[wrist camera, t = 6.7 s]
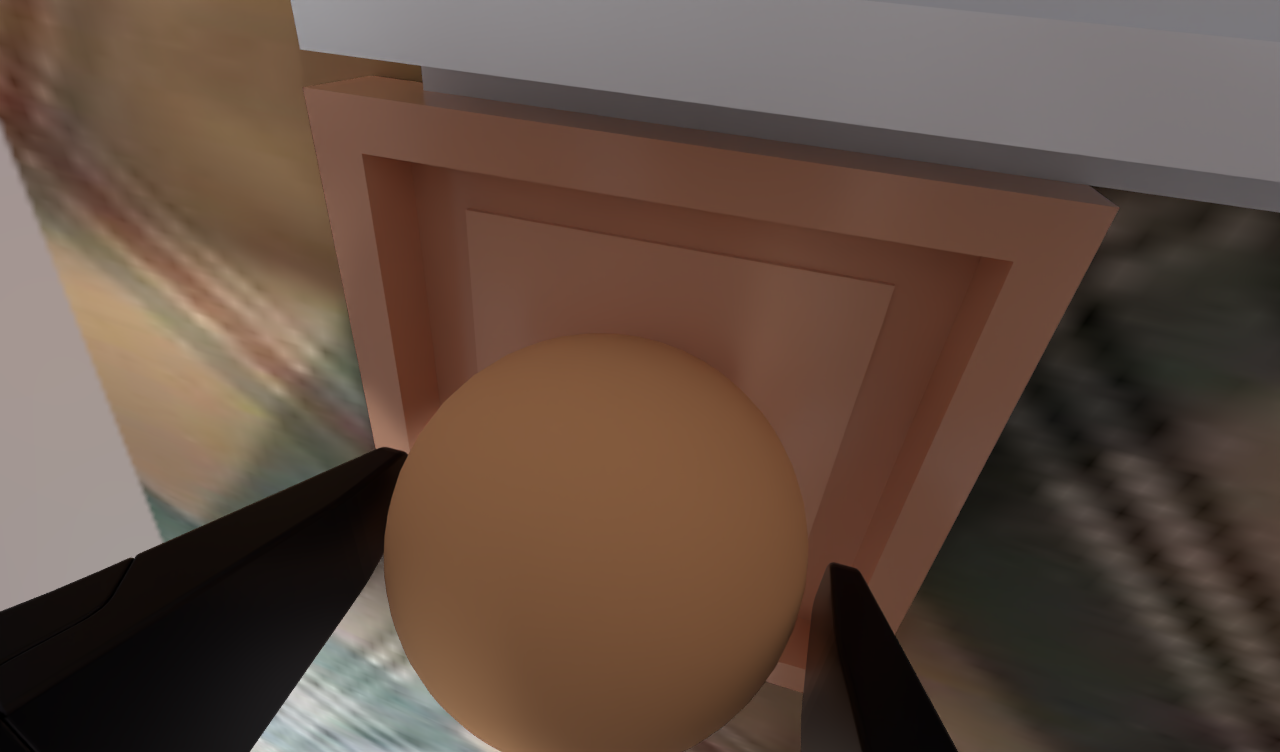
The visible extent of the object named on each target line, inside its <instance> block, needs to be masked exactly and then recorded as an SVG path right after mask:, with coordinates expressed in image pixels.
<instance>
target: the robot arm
mask: <svg viewBox="0 0 1280 752" xmlns="http://www.w3.org/2000/svg"><path fill="white" fill-rule="evenodd" d="M407 456H408V454H407V453H406V452H404V451H401V450H397V449H393V448H389V447H381V448H378V449H375V450H373V451H371V452H369V453H366V454H364V455H362V456H360V457H357V458H355V459H353V460H351V461H348V462H346V463H344V464H341V465H339V466H337V467H335V468H332V469H330V470H328V471H326V472H323V473H321V474H319V475H317V476H314V477H312V478H310V479H307V480H305V481H303V482H301V483H298V484H296V485H294V486H292V487H289V488H287V489H285V490H283V491H280V492H278V493H276V494H273V495H271V496H269V497H267V498H264V499H262V500H260V501H258V502H255V503H253V504H251V505H249V506H246V507H244V508H242V509H239V510H237V511H235V512H233V513H230V514H228V515H226V516H224V517H221V518H219V519H217V520H215V521H212V522H210V523H208V524H205V525H203V526H201V527H199V528H196V529H194V530H192V531H190V532H187V533H185V534H183V535H180V536H178V537H176V538H174V539H171V540H169V541H167V542H165V543H162V544H160V545H158V546H156V547H153V548H151V549H149V550H146V551H144V552H142V553H140V554H138V555H137V556H136V557H135V558H128V559H126V560H124V561H121V562H119V563H117V564H115V565H112V566H110V567H108V568H105V569H103V570H101V571H99V572H96V573H94V574H91V575H89V576H87V577H85V578H82V579H80V580H77V581H75V582H73V583H70V584H68V585H66V586H63V587H61V588H58V589H56V590H54V591H51V592H49V593H46V594H44V595H41V596H39V597H36V598H34V599H31V600H29V601H26V602H24V603H21V604H18V605H16V606H14V607H11V608H8V609H6V610H3V611H0V752H250V751H251V749H252V748H253V746H254V745H255V744H256V742H257V741H258V739H259V738H260V736H261V735H262V734H263V732H264V731H265V729H266V728H267V726H268V725H269V724H270V722H271V721H272V719H273V718H274V716H275V715H276V713H277V712H278V711H279V709H280V708H281V706H282V705H283V703H284V702H285V701H286V699H287V698H288V696H289V695H290V693H291V692H292V690H293V689H294V688H295V686H296V685H297V683H298V682H299V680H300V679H301V678H302V676H303V675H304V673H305V672H306V670H307V669H308V668H309V666H310V665H311V663H312V662H313V660H314V659H315V657H316V656H317V655H318V653H319V652H320V650H321V649H322V647H323V646H324V645H325V643H326V642H327V640H328V639H329V637H330V636H331V635H332V633H333V632H334V630H335V629H336V627H337V626H338V624H339V623H340V622H341V620H342V619H343V617H344V616H345V614H346V613H347V612H348V610H349V609H350V607H351V606H352V604H353V603H354V602H355V600H356V599H357V597H358V596H359V594H360V593H361V591H362V590H363V588H364V587H365V585H366V584H367V582H368V580H369V579H370V577H371V575H372V573H373V572H374V570H375V568H376V566H377V565H378V563H379V561H380V559H381V557H382V556H383V554H384V539H385V530H386V523H387V516H388V510H389V506H390V503H391V499H392V495H393V492H394V489H395V486H396V482H397V479H398V476H399V473H400V471H401V469H402V467H403V465H404V463H405V461H406V459H407ZM801 752H958V751H957V749H956V747H955V745H954V743H953V741H952V739H951V738H950V736H949V734H948V732H947V730H946V728H945V727H944V725H943V723H942V721H941V719H940V717H939V715H938V714H937V712H936V710H935V708H934V706H933V704H932V703H931V701H930V699H929V697H928V695H927V693H926V692H925V690H924V688H923V686H922V684H921V682H920V680H919V679H918V677H917V675H916V673H915V671H914V669H913V668H912V666H911V664H910V662H909V660H908V658H907V656H906V655H905V653H904V651H903V649H902V647H901V645H900V644H899V642H898V640H897V638H896V636H895V634H894V632H893V631H892V629H891V627H890V625H889V623H888V621H887V620H886V618H885V616H884V614H883V612H882V610H881V608H880V607H879V605H878V603H877V601H876V599H875V597H874V596H873V594H872V592H871V590H870V588H869V586H868V585H867V583H866V581H865V579H864V577H863V575H862V574H861V572H860V571H859V570H858V569H857V568H854V567H851V566H847V565H843V564H839V563H835V562H831V563H829V564H828V565H827V567H826V569H825V572H824V575H823V577H822V580H821V582H820V585H819V588H818V590H817V593H816V596H815V599H814V603H813V607H812V614H811V624H810V633H809V643H808V652H807V662H806V671H805V681H804V690H803V700H802V713H801Z"/></svg>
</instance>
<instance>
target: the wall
mask: <svg viewBox="0 0 1280 752" xmlns="http://www.w3.org/2000/svg"><path fill="white" fill-rule="evenodd" d="M291 5H292V11H293V16H294V21H295V26H296V31H297V36H298V41H299V46H300V49H301V50H308V51H316V52H323V53H330V54H338V55H345V56H353V57H360V58H367V59H375V60H382V61H389V62H397V63H404V64H412V65H419V66H421V71H422V80H423V90H425V91H432V92H439V93H446V94H453V95H460V96H467V97H474V98H481V99H488V100H495V101H502V102H509V103H516V104H523V105H530V106H537V107H544V108H551V109H558V110H565V111H572V112H579V113H586V114H593V115H600V116H607V117H614V118H621V119H628V120H635V121H642V122H649V123H656V124H663V125H670V126H677V127H684V128H691V129H698V130H705V131H712V132H719V133H726V134H733V135H740V136H747V137H754V138H761V139H768V140H775V141H782V142H789V143H796V144H803V145H810V146H817V147H824V148H831V149H838V150H845V151H852V152H859V153H866V154H873V155H880V156H887V157H894V158H901V159H908V160H915V161H922V162H929V163H936V164H943V165H950V166H957V167H964V168H971V169H978V170H985V171H992V172H999V173H1006V174H1013V175H1020V176H1027V177H1034V178H1041V179H1048V180H1055V181H1062V182H1069V183H1076V184H1083V185H1090V186H1097V187H1104V188H1111V189H1118V190H1125V191H1132V192H1139V193H1146V194H1153V195H1160V196H1167V197H1174V198H1181V199H1188V200H1195V201H1202V202H1209V203H1216V204H1223V205H1230V206H1237V207H1244V208H1251V209H1258V210H1265V211H1272V212H1279V213H1280V0H291Z"/></svg>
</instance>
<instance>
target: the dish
mask: <svg viewBox="0 0 1280 752" xmlns="http://www.w3.org/2000/svg"><path fill="white" fill-rule="evenodd" d="M303 92H304V96H305V101H306V106H307V111H308V116H309V121H310V126H311V131H312V136H313V141H314V146H315V151H316V156H317V161H318V166H319V171H320V176H321V181H322V185H323V190H324V195H325V200H326V205H327V210H328V215H329V220H330V225H331V230H332V235H333V240H334V245H335V250H336V255H337V260H338V265H339V269H340V274H341V279H342V284H343V289H344V294H345V299H346V304H347V309H348V314H349V319H350V324H351V329H352V334H353V339H354V344H355V349H356V354H357V358H358V363H359V368H360V373H361V378H362V383H363V388H364V393H365V398H366V403H367V408H368V413H369V418H370V423H371V428H372V433H373V438H374V443H375V447H376V449H378V448H381V447H389V448H393V449H397V450H401V451H404V452H406V453H407V454H408V455H409V453H410V451H411V449H412V447H413V445H414V443H415V441H416V439H417V437H418V435H419V434H420V433H421V431H422V430H423V429H424V427H425V426H426V425H427V423H428V422H429V421H430V419H431V418H432V417H433V416H434V414H435V413H436V412H437V410H438V409H439V408H440V406H441V405H442V404H443V403H444V402H445V401H446V400H447V399H448V398H449V397H450V396H451V395H452V394H453V393H454V392H456V391H457V390H458V389H459V388H460V387H461V386H462V385H463V384H464V383H466V382H467V381H468V380H469V379H470V378H471V377H472V376H473V375H475V374H477V373H478V372H480V371H481V370H483V369H485V368H486V367H488V366H490V365H491V364H493V363H495V362H496V361H498V360H499V359H501V358H503V357H504V356H506V355H508V354H510V353H513V352H515V351H517V350H520V349H522V348H525V347H527V346H530V345H533V344H536V343H539V342H542V341H546V340H550V339H554V338H558V337H562V336H570V335H579V334H591V333H607V334H623V335H631V336H638V337H642V338H646V339H650V340H654V341H658V342H662V343H664V344H667V345H670V346H672V347H675V348H678V349H680V350H683V351H685V352H687V353H689V354H691V355H693V356H695V357H697V358H698V359H700V360H702V361H704V362H706V363H707V364H709V365H710V366H712V367H713V368H715V369H716V370H718V371H719V372H721V373H722V374H723V375H725V376H726V377H727V378H728V379H729V380H730V381H732V382H733V383H734V384H735V385H736V386H737V387H739V388H740V389H741V390H742V391H743V392H744V393H745V394H746V395H747V397H748V398H749V399H750V400H751V401H752V402H753V403H754V404H755V405H756V406H757V408H758V409H759V410H760V411H761V412H762V413H763V415H764V416H765V417H766V419H767V420H768V422H769V423H770V425H771V426H772V428H773V429H774V430H775V432H776V434H777V436H778V438H779V440H780V441H781V443H782V445H783V447H784V449H785V451H786V453H787V455H788V457H789V459H790V461H791V463H792V465H793V469H794V472H795V475H796V478H797V481H798V484H799V488H800V491H801V495H802V498H803V502H804V508H805V515H806V522H807V533H808V564H807V575H806V585H805V590H804V594H803V598H802V602H801V606H800V610H799V613H798V617H797V620H796V624H795V627H794V630H793V632H792V634H791V636H790V638H789V641H788V643H787V645H786V647H785V649H784V651H783V653H782V655H781V657H780V659H779V661H778V663H777V665H776V667H775V669H774V670H773V671H772V673H771V674H770V676H769V677H768V678H767V680H766V681H765V682H768V683H771V684H775V685H778V686H781V687H785V688H788V689H792V690H795V691H798V692H802V693H803V690H804V681H805V671H806V662H807V652H808V643H809V633H810V624H811V614H812V607H813V603H814V599H815V596H816V593H817V590H818V588H819V585H820V582H821V580H822V577H823V575H824V572H825V569H826V567H827V565H828V564H829V563H831V562H835V563H839V564H843V565H847V566H851V567H854V568H857V569H858V570H859V571H860V572H861V574H862V575H863V577H864V579H865V581H866V583H867V585H868V586H869V588H870V590H871V592H872V594H873V596H874V597H875V599H876V601H877V603H878V605H879V607H880V608H881V610H882V612H883V614H884V616H885V618H886V620H887V621H888V623H889V625H890V627H891V629H892V631H893V632H894V634H896V632H897V630H898V628H899V626H900V624H901V622H902V621H903V619H904V617H905V615H906V613H907V611H908V609H909V607H910V605H911V603H912V602H913V600H914V598H915V596H916V594H917V592H918V590H919V588H920V586H921V584H922V583H923V581H924V579H925V577H926V575H927V573H928V571H929V569H930V567H931V565H932V564H933V562H934V560H935V558H936V556H937V554H938V552H939V550H940V548H941V546H942V545H943V543H944V541H945V539H946V537H947V535H948V533H949V531H950V529H951V527H952V526H953V524H954V522H955V520H956V518H957V516H958V514H959V512H960V510H961V508H962V507H963V505H964V503H965V501H966V499H967V497H968V495H969V493H970V491H971V489H972V488H973V486H974V484H975V482H976V480H977V478H978V476H979V474H980V472H981V471H982V469H983V467H984V465H985V463H986V461H987V459H988V457H989V455H990V453H991V452H992V450H993V448H994V446H995V444H996V442H997V440H998V438H999V436H1000V434H1001V433H1002V431H1003V429H1004V427H1005V425H1006V423H1007V421H1008V419H1009V417H1010V415H1011V414H1012V412H1013V410H1014V408H1015V406H1016V404H1017V402H1018V400H1019V398H1020V396H1021V395H1022V393H1023V391H1024V389H1025V387H1026V385H1027V383H1028V381H1029V379H1030V377H1031V376H1032V374H1033V372H1034V370H1035V368H1036V366H1037V364H1038V362H1039V360H1040V358H1041V357H1042V355H1043V353H1044V351H1045V349H1046V347H1047V345H1048V343H1049V341H1050V339H1051V338H1052V336H1053V334H1054V332H1055V330H1056V328H1057V326H1058V324H1059V322H1060V320H1061V319H1062V317H1063V315H1064V313H1065V311H1066V309H1067V307H1068V305H1069V303H1070V301H1071V300H1072V298H1073V296H1074V294H1075V292H1076V290H1077V288H1078V286H1079V284H1080V282H1081V281H1082V279H1083V277H1084V275H1085V273H1086V271H1087V269H1088V267H1089V265H1090V263H1091V262H1092V260H1093V258H1094V256H1095V254H1096V252H1097V250H1098V248H1099V246H1100V244H1101V243H1102V241H1103V239H1104V237H1105V235H1106V233H1107V231H1108V229H1109V227H1110V225H1111V224H1112V222H1113V220H1114V218H1115V216H1116V214H1117V212H1118V210H1119V207H1118V206H1116V205H1115V204H1114V203H1112V202H1111V201H1110V200H1108V199H1107V198H1105V197H1104V196H1103V195H1101V194H1100V193H1099V192H1097V191H1096V190H1094V189H1093V188H1092V187H1090V186H1089V185H1083V184H1076V183H1069V182H1062V181H1055V180H1048V179H1041V178H1034V177H1027V176H1020V175H1013V174H1006V173H999V172H992V171H985V170H978V169H971V168H964V167H957V166H950V165H943V164H936V163H929V162H922V161H915V160H908V159H901V158H894V157H887V156H880V155H873V154H866V153H859V152H852V151H845V150H838V149H831V148H824V147H817V146H810V145H803V144H796V143H789V142H782V141H775V140H768V139H761V138H754V137H747V136H740V135H733V134H726V133H719V132H712V131H705V130H698V129H691V128H684V127H677V126H670V125H663V124H656V123H649V122H642V121H635V120H628V119H621V118H614V117H607V116H600V115H593V114H586V113H579V112H572V111H565V110H558V109H551V108H544V107H537V106H530V105H523V104H516V103H509V102H502V101H495V100H488V99H481V98H474V97H467V96H460V95H453V94H446V93H439V92H432V91H425V90H423V83H422V82H415V81H408V80H401V79H394V78H387V77H379V76H366V77H360V78H355V79H349V80H343V81H337V82H331V83H325V84H319V85H313V86H307V87H303Z"/></svg>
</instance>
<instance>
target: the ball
mask: <svg viewBox="0 0 1280 752" xmlns="http://www.w3.org/2000/svg"><path fill="white" fill-rule="evenodd" d="M807 564H808V533H807V522H806V515H805V508H804V502H803V498H802V495H801V491H800V488H799V484H798V481H797V478H796V475H795V472H794V469H793V465H792V463H791V461H790V459H789V457H788V455H787V453H786V451H785V449H784V447H783V445H782V443H781V441H780V440H779V438H778V436H777V434H776V432H775V430H774V429H773V428H772V426H771V425H770V423H769V422H768V420H767V419H766V417H765V416H764V415H763V413H762V412H761V411H760V410H759V409H758V408H757V406H756V405H755V404H754V403H753V402H752V401H751V400H750V399H749V398H748V397H747V395H746V394H745V393H744V392H743V391H742V390H741V389H740V388H739V387H737V386H736V385H735V384H734V383H733V382H732V381H730V380H729V379H728V378H727V377H726V376H725V375H723V374H722V373H721V372H719V371H718V370H716V369H715V368H713V367H712V366H710V365H709V364H707V363H706V362H704V361H702V360H700V359H698V358H697V357H695V356H693V355H691V354H689V353H687V352H685V351H683V350H680V349H678V348H675V347H672V346H670V345H667V344H664V343H662V342H658V341H654V340H650V339H646V338H642V337H638V336H631V335H623V334H607V333H591V334H579V335H570V336H562V337H558V338H554V339H550V340H546V341H542V342H539V343H536V344H533V345H530V346H527V347H525V348H522V349H520V350H517V351H515V352H513V353H510V354H508V355H506V356H504V357H503V358H501V359H499V360H498V361H496V362H495V363H493V364H491V365H490V366H488V367H486V368H485V369H483V370H481V371H480V372H478V373H477V374H475V375H473V376H472V377H471V378H470V379H469V380H468V381H467V382H466V383H464V384H463V385H462V386H461V387H460V388H459V389H458V390H457V391H456V392H454V393H453V394H452V395H451V396H450V397H449V398H448V399H447V400H446V401H445V402H444V403H443V404H442V405H441V406H440V408H439V409H438V410H437V412H436V413H435V414H434V416H433V417H432V418H431V419H430V421H429V422H428V423H427V425H426V426H425V427H424V429H423V430H422V431H421V433H420V434H419V435H418V437H417V439H416V441H415V443H414V445H413V447H412V449H411V451H410V453H409V455H408V456H407V459H406V461H405V463H404V465H403V467H402V469H401V471H400V473H399V476H398V479H397V482H396V486H395V489H394V492H393V495H392V499H391V503H390V506H389V510H388V516H387V523H386V530H385V539H384V577H385V584H386V592H387V597H388V601H389V606H390V611H391V616H392V619H393V622H394V626H395V629H396V631H397V634H398V636H399V639H400V641H401V644H402V646H403V649H404V651H405V653H406V655H407V657H408V659H409V662H410V664H411V665H412V667H413V668H414V670H415V671H416V673H417V674H418V676H419V677H420V679H421V680H422V682H423V683H424V685H425V686H426V688H427V689H428V691H429V692H430V694H431V695H432V696H433V697H434V699H435V700H436V701H437V702H438V703H439V704H440V705H441V706H442V707H443V708H444V709H445V710H446V712H448V713H449V714H450V715H451V716H452V717H453V718H454V719H455V720H456V721H458V722H459V723H460V724H461V725H462V726H463V727H464V728H466V729H467V730H468V731H469V732H471V733H472V734H473V735H475V736H476V737H477V738H479V739H481V740H482V741H484V742H485V743H487V744H488V745H490V746H492V747H494V748H496V749H497V750H499V751H501V752H683V751H685V750H688V749H689V748H691V747H693V746H695V745H696V744H698V743H700V742H701V741H703V740H704V739H706V738H707V737H709V736H710V735H712V734H713V733H715V732H716V731H718V730H719V729H721V728H722V727H723V726H724V725H725V724H727V723H728V722H729V721H730V720H731V719H732V718H733V717H734V716H735V715H737V714H738V713H739V712H740V711H741V710H742V709H743V708H744V707H745V706H746V705H747V704H748V703H749V702H750V701H751V700H752V698H753V697H754V696H755V695H756V693H757V692H758V691H759V689H760V688H761V687H762V685H763V684H764V683H765V681H766V680H767V678H768V677H769V676H770V674H771V673H772V671H773V670H774V669H775V667H776V665H777V663H778V661H779V659H780V657H781V655H782V653H783V651H784V649H785V647H786V645H787V643H788V641H789V638H790V636H791V634H792V632H793V630H794V627H795V624H796V620H797V617H798V613H799V610H800V606H801V602H802V598H803V594H804V590H805V585H806V575H807Z"/></svg>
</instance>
